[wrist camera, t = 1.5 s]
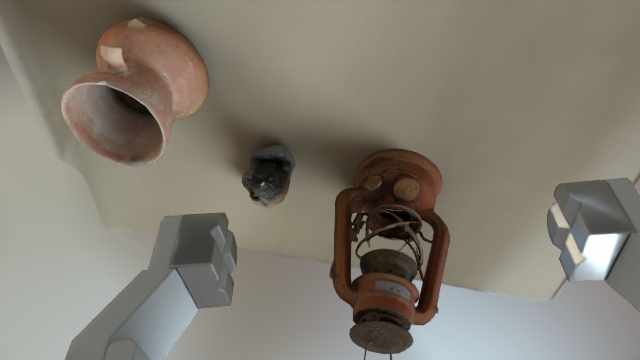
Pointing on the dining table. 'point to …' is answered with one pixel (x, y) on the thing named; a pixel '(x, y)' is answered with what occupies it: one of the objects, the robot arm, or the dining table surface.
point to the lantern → (387, 264)
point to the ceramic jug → (136, 92)
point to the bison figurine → (269, 175)
